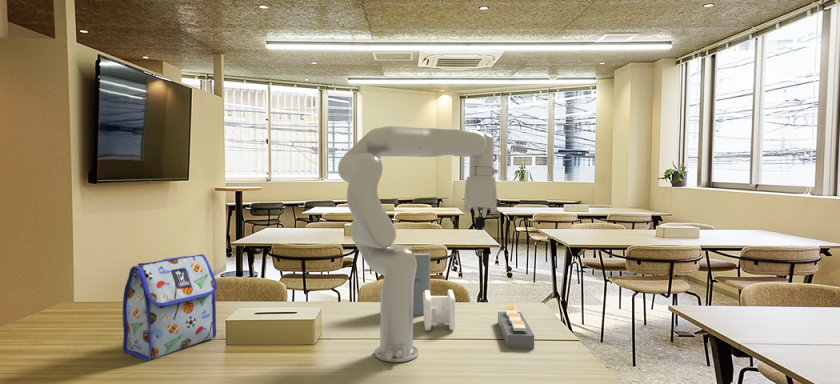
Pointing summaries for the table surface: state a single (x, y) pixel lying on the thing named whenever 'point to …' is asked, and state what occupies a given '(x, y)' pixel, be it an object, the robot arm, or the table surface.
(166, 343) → the lunch bag
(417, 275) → the blue-grey tall flat block
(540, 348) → the table surface
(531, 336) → the power strip
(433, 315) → the cable organizer
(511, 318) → the middle rocker
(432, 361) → the table surface
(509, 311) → the far rocker
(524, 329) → the plate
